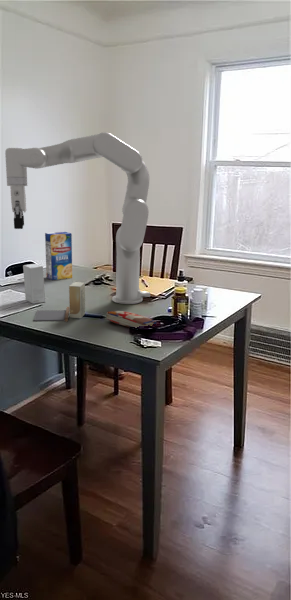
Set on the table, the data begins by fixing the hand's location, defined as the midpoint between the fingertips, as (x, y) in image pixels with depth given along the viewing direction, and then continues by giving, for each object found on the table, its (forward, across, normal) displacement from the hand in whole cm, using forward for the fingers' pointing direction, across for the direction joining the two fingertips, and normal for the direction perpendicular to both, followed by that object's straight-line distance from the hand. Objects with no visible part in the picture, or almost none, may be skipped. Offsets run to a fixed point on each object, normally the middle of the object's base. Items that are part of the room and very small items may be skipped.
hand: (19, 227), depth 189 cm
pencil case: (+31, -36, -38) cm, 61 cm away
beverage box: (+31, +43, -16) cm, 55 cm away
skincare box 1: (+31, +1, -5) cm, 31 cm away
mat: (+30, -21, -11) cm, 38 cm away
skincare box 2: (+31, -22, -21) cm, 43 cm away
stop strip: (+30, -21, -17) cm, 41 cm away
